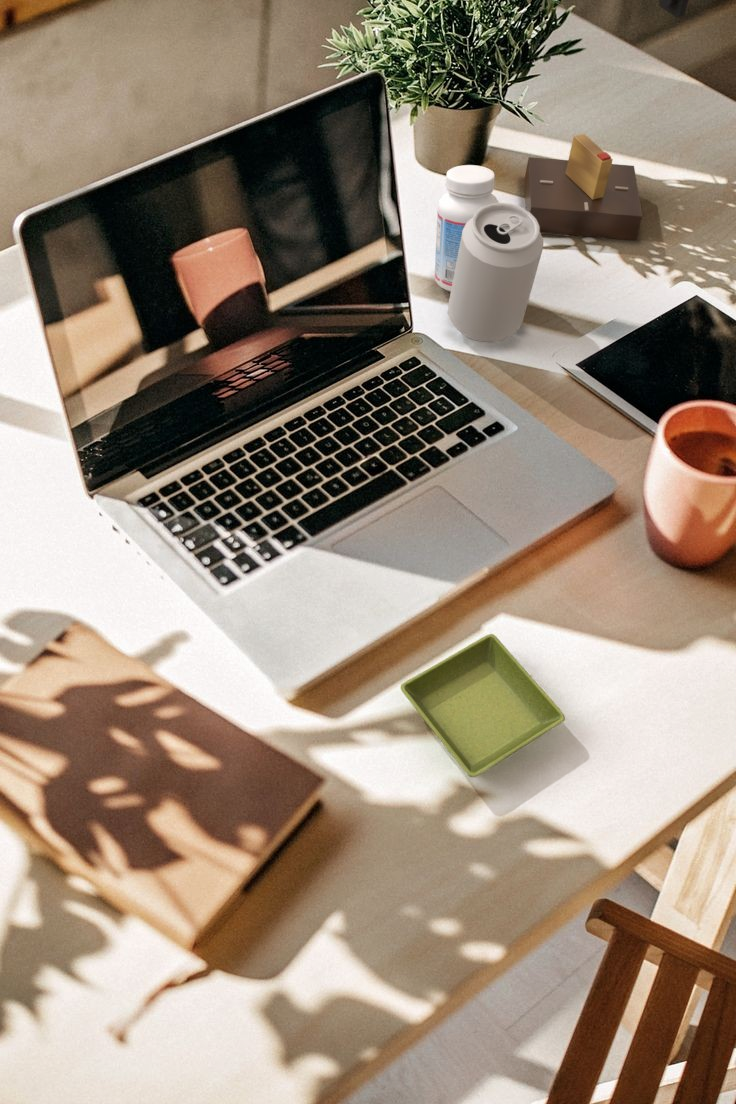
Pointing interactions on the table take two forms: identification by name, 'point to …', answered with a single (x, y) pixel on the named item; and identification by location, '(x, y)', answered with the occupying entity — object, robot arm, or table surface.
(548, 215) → the base
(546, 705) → the green square dish
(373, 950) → the table surface
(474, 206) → the pill bottle
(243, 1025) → the table surface
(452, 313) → the can
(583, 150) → the tap handle
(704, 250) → the table surface
